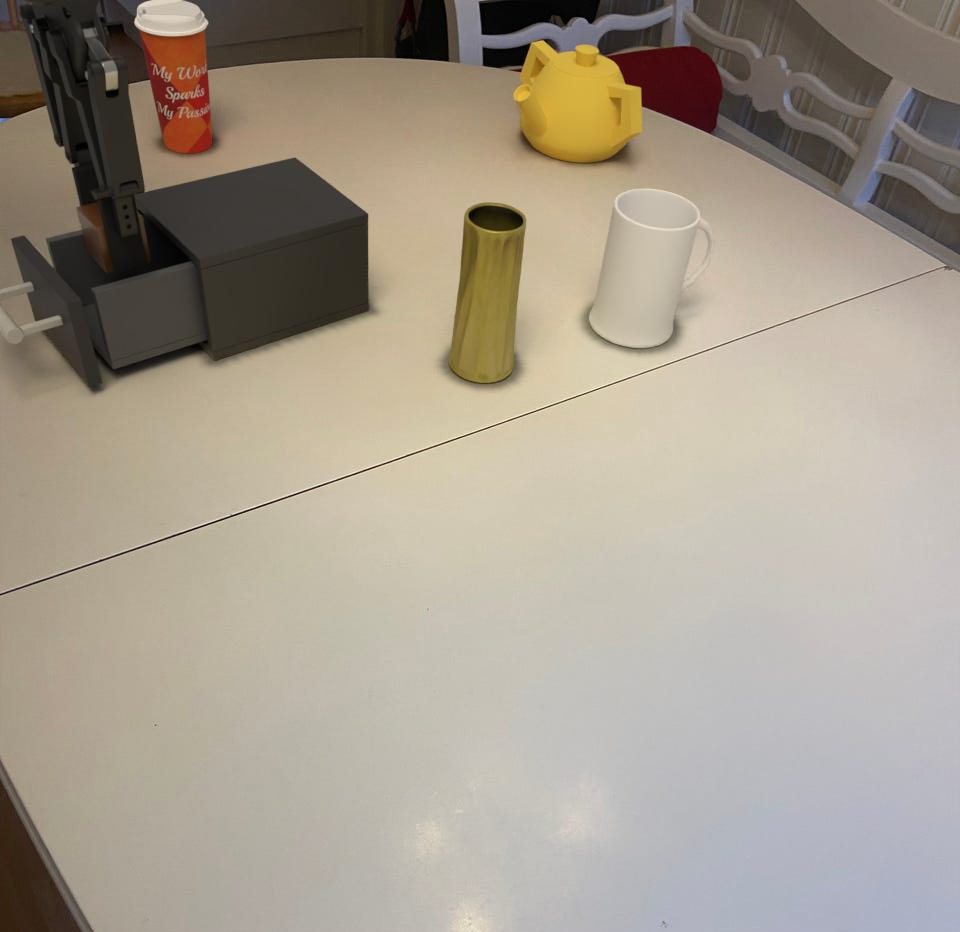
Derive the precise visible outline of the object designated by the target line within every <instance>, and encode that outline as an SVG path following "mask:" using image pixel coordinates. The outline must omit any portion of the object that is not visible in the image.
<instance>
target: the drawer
mask: <svg viewBox="0 0 960 932" xmlns="http://www.w3.org/2000/svg"><path fill="white" fill-rule="evenodd" d="M141 216H143V220H144V226H145V231H146V236H147V242H148V247H149V252H150V257H151V262H149V263H147V266H143V267H139V268H136V269H132V270H128V271H124V272H121V273H116V272H112V273H108V274H107V273H106V272H105V271H104V270H103V269H102V268H101V267H100V266H99V265H98V264H97V263H96V261H95V260H94V259H93V258H92V257H91V256H90V255H89V254H88V253H87V250H86V246H85V242H84V238H83V233H82V229H78V230H74V231H70V232H65V233H62V234H57V235H53V236H49V237H46V238H45V241H46V245H47V249H48V253H49V257H50V260H51V264H52V265H51V264H50V262H49V261H48V260H47V259H46V258H45V257H44V256H43V254H42V253H41V252H40V251H39V250H38V249H37V248H36V247H35V246H34V245H33V243H32V242H31V241H30V240H29V239H28V237H26V235H19V236H16V237H11V238H10V242H11V246H12V249H13V252H14V255H15V259H16V263H17V265H18V268H19V273H20V275H21V279H22V282H23V283H20V284H15V285H12V286H8V287H5V288H0V301H1V300H5V299H9V298H13V297H17V296H21V295H23V294H26V295H27V299H28V301H29V305H30V309H31V312H32V315H33V319H34V321H32V322H29V323H26V324H23V325H19V326H18V324H17V322H16V321H14V319H13V318H12V317H11V315H10V314H9V313H8V311H6V309H5V308H4V307H3V305H2V304H1V303H0V334H1V335H2V336H3V337H4V339H5V340H6V341H7V342H8V343H9V344H12V345H18V344H20V343H21V342H23V340H24V337H25V336H29V335H32V334H35V333H39V332H42V331H43V333H44V334H45V336H46V337H47V338H48V339H49V340H50V342H51V343H52V344H54V346H55V348H56V349H57V350H58V351H59V352H60V354H61V355H62V356H63V357H64V358H65V360H66V361H67V362H68V363H69V364H70V366H71V367H72V368H73V370H74V371H75V372H76V373H77V375H79V377H80V378H81V379H82V380H83V382H84V383H85V384H86V385H87V386H88V388H91V387H94V386H97V385H100V384H102V383H103V380H102V376H101V372H100V368H99V364H98V360H97V357H96V353H95V350H96V351H97V352H98V353H99V355H100V356H101V357H102V358H103V359H104V361H105V362H106V363H107V364H108V365H109V366H110V367H111V369H112V370H116V369H119V368H123V367H126V366H129V365H132V364H135V363H138V362H141V361H145V360H147V359H151V358H154V357H157V356H160V355H161V356H162V355H163V354H167V353H170V352H173V351H177V350H180V349H183V348H186V347H189V346H193V345H195V344H198V343H199V342H202V341H205V340H207V333H206V326H205V320H204V313H203V306H202V300H201V293H200V286H199V280H198V273H197V265H196V264H195V263H194V262H193V261H192V260H191V259H190V258H189V257H188V256H187V255H186V254H185V253H184V252H182V251H181V250H180V249H179V248H178V247H177V246H176V245H175V244H174V243H173V242H172V241H171V240H170V239H169V238H168V237H167V236H166V235H165V234H164V233H163V232H162V231H161V230H160V229H159V228H157V227H156V226H155V225H154V224H153V223H152V222H151V221H150V220H149V219H148V218H147V217H146V216H145V215H141Z"/></svg>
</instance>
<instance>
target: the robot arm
mask: <svg viewBox="0 0 960 932" xmlns="http://www.w3.org/2000/svg"><path fill="white" fill-rule="evenodd" d="M20 1H22V2H24V3H23V4H19V5H18V10H19V11H18V13H19V16H20V18H21V20H22V24H23V26H24V29H25V32H26V35H27V38H28V41H29V44H30V49H31V52H32V56H33V60H34V64H35V67H36V71H37V76H38V79H39V84H40V87H41V91H42V94H43V95H42V96H43V99H44V102H45V106H46V110H47V114H48V118H49V122H50V126H51V130H52V134H53V139H54V142H55V144H56V145H57V147H59V148H64V149H63V150H64V156H65V158H66V160H67V161H68V163H69V164H70V165H73V166H74V167H73V166H72V167H71V173H72V176H73V181H74V184H75V189H76V193H77V198H78V202H79V206H83V205H87V204H92V203H96V202H98V203H99V208H100V212H101V217H102V221H103V226H104V230H105V234H106V239H107V243H108V248H109V252H110V257H111V261H112V266H113V270H114V271H115V272H116V273H121V272H124V271H128V270H132V269H136V268H139V267H143V266H147V260H146V254H145V249H144V244H143V239H142V234H141V229H140V223H139V218H138V213H137V208H136V203H135V198H134V195H135V194H140V193H144V192H146V188H145V187H146V186H145V181H144V175H143V168H142V163H141V157H140V151H139V145H138V140H137V139H138V138H137V133H136V129H135V121H134V116H133V110H132V104H131V99H130V90H129V86H130V85H129V66H128V63H127V62H126V60H125V58H124V56H115V57H112V56H110V54H109V53H110V50H111V45H110V41H109V37H108V34H107V30H106V27H105V25H104V24H103V23H102V22H101V20H100V16H99V13H98V12H97V8H98V5H99V3H100V2H101V1H102V0H20Z"/></svg>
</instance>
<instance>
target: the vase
mask: <svg viewBox="0 0 960 932" xmlns="http://www.w3.org/2000/svg"><path fill="white" fill-rule="evenodd" d="M526 228H527V217H526V215H525V214H524V213H523V212H522V211H521V210H520V209H517V208H516V207H514V206H512V205H509V204H506V203H502V202H491V201H489V202H480V203H479V202H478V203H476V204H473V205H472V206H470V207H468V208H467V209H466V211H465V212H464V215H463V228H462V242H461V243H462V244H461V254H460V271H459V280H458V281H459V282H458V289H457V296H456V302H455V303H456V304H455V311H454V320H453V327H452V336H451V344H450V345H451V346H450V352H449V356H448V365H449V367H450V369H451V370H452V371H453V372H454V373H455V374H456V375H458V377H460V378H461V379H464V380H467V381H469V382H473V383H479V384H489V383H490V384H491V383H496V382H500V381H502V380H504V379H506V378H507V377H508V376H509V375H510V374H511V373H512V372H513V370H514V367H515V366H514V353H515V344H516V331H517V330H516V329H517V314H518V303H519V300H518V299H519V293H520V284H521V274H522V264H523V255H524V246H525V237H526V236H525V235H526Z"/></svg>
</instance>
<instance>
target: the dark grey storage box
mask: <svg viewBox="0 0 960 932" xmlns="http://www.w3.org/2000/svg"><path fill="white" fill-rule="evenodd" d="M134 198H135V203H136V208H137V212H138V213H139V214H140V215H145V216H146V217H147V218H148V219H149V220H150V221H151V222H152V223H153V224H154V225H155V226H156V227H157V228H159V229H160V230H161V231H162V232H163V233H164V234H165V235H166V236H167V237H168V238H169V239H170V240H171V241H172V242H173V243H174V244H175V245H176V246H177V247H178V248H179V249H180V250H181V251H182V252H184V253H185V254H186V255H187V256H188V257H189V258H190V259H191V260H192V261H193V262H194V263H195V264H196V265H197V273H198V280H199V286H200V293H201V300H202V306H203V313H204V320H205V326H206V333H207V340H205V341H202V342H199V343H197V345H198V346H199V347H200V348H201V349H202V350H203V351H204V352H205V353H207V355H208V356H209V357H210V358H211V359H212V360H213V361H214V362H215V361H219V360H222V359H225V358H227V357H230V356H234V355H236V354H240V353H243V352H246V351H249V350H252V349H254V348H255V349H256V348H258V347H261V346H264V345H267V344H270V343H273V342H277V341H280V340H282V339H286V338H288V337H289V338H290V337H292V336H295V335H298V334H301V333H304V332H307V331H310V330H313V329H316V328H319V327H322V326H326V325H328V324H332V323H335V322H338V321H341V320H344V319H346V318H350V317H353V316H357V315H359V314H362V313H366V312H368V311H369V310H370V309H369V307H370V305H369V304H370V303H369V300H370V299H369V296H370V295H369V213H368V212H367V211H365V210H364V209H363V208H362V207H360V206H359V205H358V204H356V202H354V201H352V200H351V199H350V198H348V197H347V196H346V195H345V194H343V193H342V192H341V191H340V190H338V189H337V188H336V187H334V186H333V185H332V184H331V183H329V182H328V181H327V180H326V179H324V178H323V177H322V176H320V175H319V174H317V172H315V171H313V170H312V169H311V168H310V167H308V165H306V164H305V163H303V162H302V161H301V160H299V158H297V157H291V158H286V159H281V160H278V161H277V160H276V161H273V162H269V163H265V164H260V165H256V166H251V167H247V168H242V169H239V170H235V171H231V172H225V173H221V174H216V175H214V176H208V177H203V178H200V179H195V180H191V181H187V182H182V183H179V184H173V185H170V186H165V187H161V188H157V189H153V190H148V191H145V192H144V193H140V194H135V195H134Z"/></svg>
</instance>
